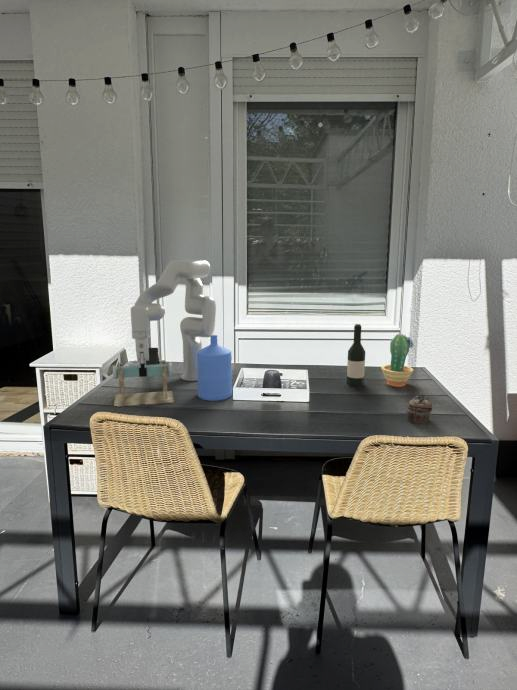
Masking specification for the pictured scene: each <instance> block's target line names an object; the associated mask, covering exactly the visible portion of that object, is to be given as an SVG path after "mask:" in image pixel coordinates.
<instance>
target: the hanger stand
mask: <svg viewBox="0 0 517 690" xmlns="http://www.w3.org/2000/svg"><path fill="white" fill-rule="evenodd" d="M118 364H119V365H118V366H117V367H118V373H119V378H118V384H119V385H118V386H119V393H118V394H115V397H114V402H113V403H114V404H113V405H114V407H115V406H117V407H126V406H127V407H129V406H141V405H140V404H145V405H156V404H158V403H159V404H169V403H171V404H172V403H174V395H173V390H168V380H167V379H168V378H167V376H168V375H167V374H166V365H162V371H163V375H161V377H162V391H151V392H150V391H149V392H148V391H147V392H136V393H135V392H134V393H133V392H132V393H126V389H125V388H126V387H125V385H126V383H125V378H123V369H122V367H120V366H124V362H119V363H118ZM161 364H167V363H166V360H163V359H162V360H161Z"/></svg>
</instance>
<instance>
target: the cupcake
mask: <svg viewBox="0 0 517 690" xmlns="http://www.w3.org/2000/svg"><path fill="white" fill-rule="evenodd" d="M405 408H406V415H407V420H408V421H409V422H412V423H415V424H427V423H428V422H429V421H430V417H431V415H432V411H433V406H432V402H431V401H429V398H428V397H427V396H426V395H422V396H420V395H419V394H417V395H416V396H414V397H413V399H411V400H409V402H408V404H407V405H406V407H405Z"/></svg>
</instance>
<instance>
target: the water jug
mask: <svg viewBox="0 0 517 690" xmlns="http://www.w3.org/2000/svg"><path fill="white" fill-rule="evenodd" d="M209 338H210V339H209V340H210V344H208V345H206V346H205V347H202V349H201V350H199V351H198V352H197V370H198V373H197V379H198V381H197V397H198V398H200V399H201V400H204V401H208V402H209V401H210V402H211V401H212V402H218V401H225V400H228V399H229V398H231V396H232V395H233V389H232V387H233V386H232V385H233V384H232V382H233V381H232V380H233V379H232V378H233V376H232V375H233V373H232V359H233V357H232V355H233V354H232V351H231V350H230V349H229V348H226V347H223V346H222V345H220V344H218V340H219V339H218V335H215V334H212V335H211V336H210V337H209Z"/></svg>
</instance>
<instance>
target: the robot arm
mask: <svg viewBox="0 0 517 690" xmlns="http://www.w3.org/2000/svg"><path fill="white" fill-rule="evenodd" d="M210 273H211V265H210V263H209V261H207V260H205V259H180V260H178V259H175V260H171V261H169V262H168V264H167V266H166V267H165V268H164V270H163V271H162V274H161V275H160V276H159V279H158V281H157V282H156V283H155V284H152V285H151V286H149V287H148V288H147V289H145V290H144V291H143V292H142V293H140V295H139V296H138V297H137V299H136V301H135V303H134V305H133V306H131V307H130V321H131V323H130V324H131V337H132V338H131V339H133V340H134V341H135V353H136V359H137V362H138V364H139V376H140V377H139V378H141V377H142V378H144V377H148V376H147V367H146V360H147V361H149V348H150V347H149V339H150V338H151V332H150V329H151V328H150V322H153V321H160V320H162V319H163V318H164V317H165V314H166V310H165V308H164V306H163V305H161V304H159V303H155V301H157V300H158V299H162V298H165V297H167V296H170V295H172V294H173V293H174V292H175V290H176V289H177V287H178V285H179V283H180V281H181V280H182V279H183V281H184V283H185V296H184V309H185V312H186V313H187V314H190V315H195V316H186V317H184V318H183V319H182V320H181V321H180V323H179V327H180V333H181V337H182V358H183V359H182V361H183V362H182V363H183V373H182V374H181V375H180V379H181V380H182V381H186V382H198V379H197V373H198V370H197V352H198V351H199V350H201V349H203V344H202V341H201V340H202V339H200V338H211V337H210V336H211V335H214V333H215V326H216V315H217V314H216V313H217V312H216V311H217V310H216V309H217V305H216V301H215V299H214V298H213V297H211V296H209V295H208V296H207V295H203V294H204V293H203V292H204V290H203V289H204V285H203V283H202V280H201V279H205V278H207V277H208V276H209V275H210ZM196 315H198V317H197V316H196ZM199 316H201V317H199ZM144 365H145V366H144Z"/></svg>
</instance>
